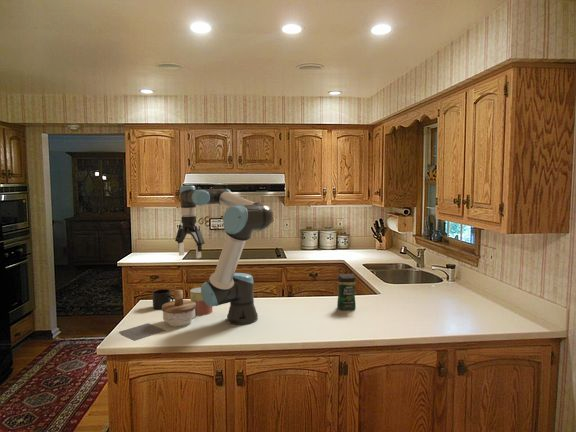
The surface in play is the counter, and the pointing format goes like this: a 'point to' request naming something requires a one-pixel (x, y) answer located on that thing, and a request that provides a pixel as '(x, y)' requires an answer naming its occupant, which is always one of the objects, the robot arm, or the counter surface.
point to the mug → (161, 298)
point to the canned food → (199, 302)
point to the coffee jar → (346, 292)
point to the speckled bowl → (179, 318)
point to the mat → (141, 331)
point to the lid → (178, 304)
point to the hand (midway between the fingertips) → (190, 256)
